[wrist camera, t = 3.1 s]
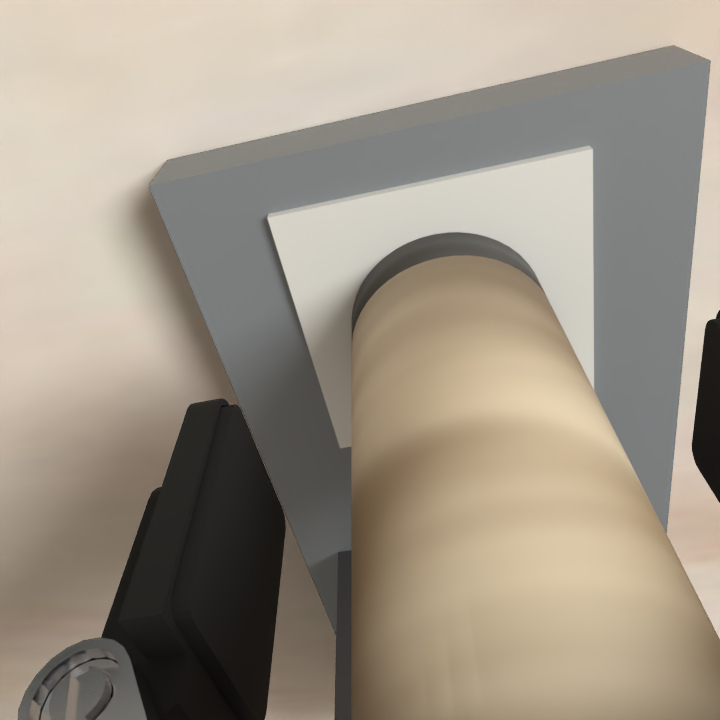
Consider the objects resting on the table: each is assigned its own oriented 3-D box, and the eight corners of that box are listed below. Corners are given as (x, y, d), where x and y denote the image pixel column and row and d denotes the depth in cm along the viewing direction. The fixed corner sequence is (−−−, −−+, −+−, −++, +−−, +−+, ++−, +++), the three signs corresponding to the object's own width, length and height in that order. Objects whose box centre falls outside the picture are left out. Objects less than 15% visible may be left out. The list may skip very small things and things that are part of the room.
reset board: (636, 652, 24) (735, 911, 18) (372, 685, 25) (380, 939, 19) (673, 45, 12) (1016, 188, 6) (167, 159, 13) (4, 381, 7)
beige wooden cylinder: (548, 379, 14) (812, 1013, 6) (372, 409, 15) (398, 1037, 7) (539, 212, 12) (941, 863, 4) (331, 255, 12) (292, 917, 4)
